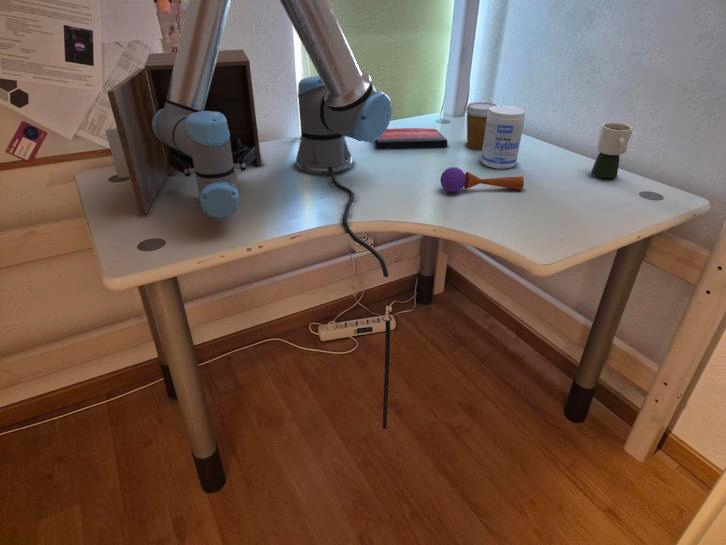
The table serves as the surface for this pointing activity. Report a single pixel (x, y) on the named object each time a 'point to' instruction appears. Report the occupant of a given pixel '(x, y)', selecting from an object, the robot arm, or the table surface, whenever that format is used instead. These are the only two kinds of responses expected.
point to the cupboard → (135, 107)
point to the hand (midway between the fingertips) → (211, 146)
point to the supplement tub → (502, 136)
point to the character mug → (611, 148)
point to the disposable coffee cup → (477, 123)
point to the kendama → (475, 180)
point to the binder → (410, 138)
